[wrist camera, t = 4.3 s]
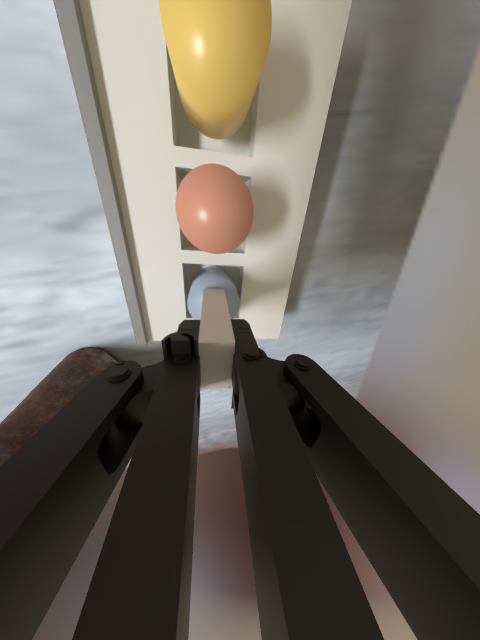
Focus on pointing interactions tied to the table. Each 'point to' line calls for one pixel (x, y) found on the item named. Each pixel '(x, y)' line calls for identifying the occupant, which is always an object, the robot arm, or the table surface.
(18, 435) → the brown rounded bar
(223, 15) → the button mustard
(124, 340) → the table surface
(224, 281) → the button slate
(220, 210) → the button terracotta
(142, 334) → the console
